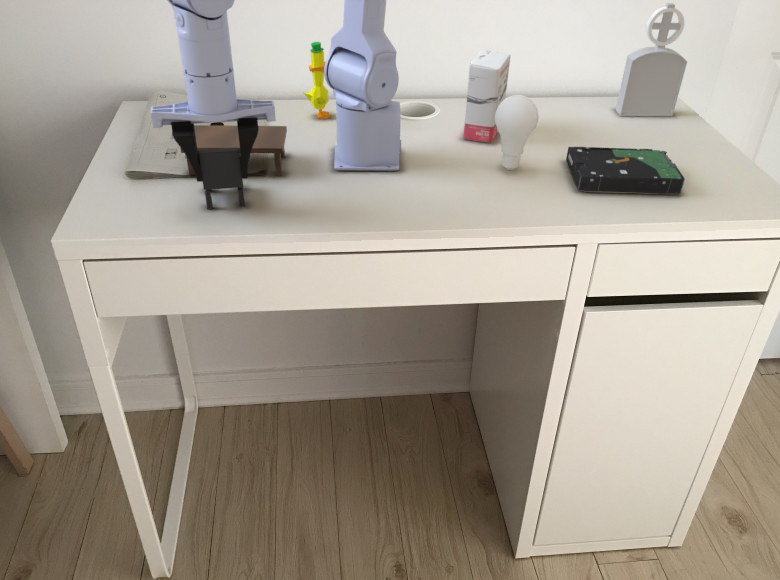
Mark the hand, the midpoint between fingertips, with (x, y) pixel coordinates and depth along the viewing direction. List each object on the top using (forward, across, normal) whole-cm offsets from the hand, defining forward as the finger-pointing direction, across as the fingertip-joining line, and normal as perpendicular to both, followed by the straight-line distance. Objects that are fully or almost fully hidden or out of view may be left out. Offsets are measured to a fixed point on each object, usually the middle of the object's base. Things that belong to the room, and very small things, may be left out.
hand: (222, 176), depth 92 cm
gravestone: (+5, -73, -23) cm, 77 cm away
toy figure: (+5, -17, -30) cm, 34 cm away
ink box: (+5, -42, -19) cm, 46 cm away
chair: (+4, 0, -3) cm, 5 cm away
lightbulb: (+5, -42, -5) cm, 42 cm away
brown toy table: (+4, -2, -13) cm, 14 cm away
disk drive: (+5, -57, +1) cm, 57 cm away
